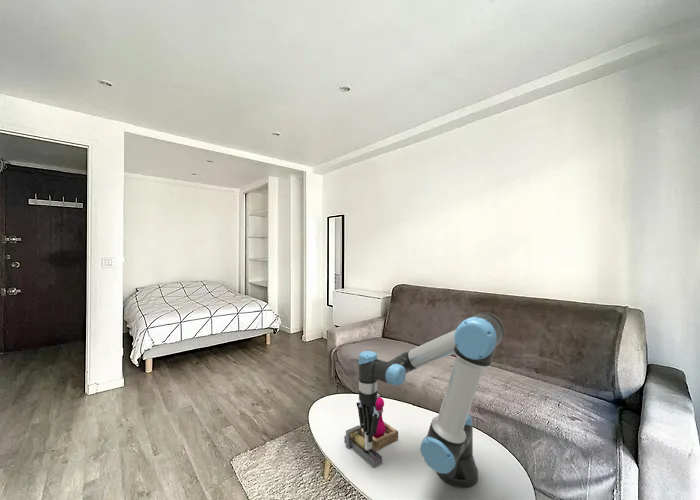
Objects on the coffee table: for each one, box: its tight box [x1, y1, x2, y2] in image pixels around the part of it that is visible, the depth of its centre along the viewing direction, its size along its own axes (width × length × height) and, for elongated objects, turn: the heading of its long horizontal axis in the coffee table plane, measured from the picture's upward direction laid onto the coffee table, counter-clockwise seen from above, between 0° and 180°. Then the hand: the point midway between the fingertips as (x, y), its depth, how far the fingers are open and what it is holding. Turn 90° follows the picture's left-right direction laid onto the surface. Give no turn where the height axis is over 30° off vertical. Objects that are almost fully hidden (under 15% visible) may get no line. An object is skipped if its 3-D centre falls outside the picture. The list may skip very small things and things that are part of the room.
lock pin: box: [351, 432, 368, 451], centre depth 130 cm, size 11×3×3 cm, turn 36°
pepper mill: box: [373, 393, 386, 439], centre depth 138 cm, size 7×7×20 cm
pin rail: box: [343, 424, 383, 469], centre depth 128 cm, size 20×7×7 cm, turn 36°
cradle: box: [362, 420, 399, 452], centre depth 138 cm, size 13×13×4 cm
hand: (368, 448), depth 125 cm, fingers closed
